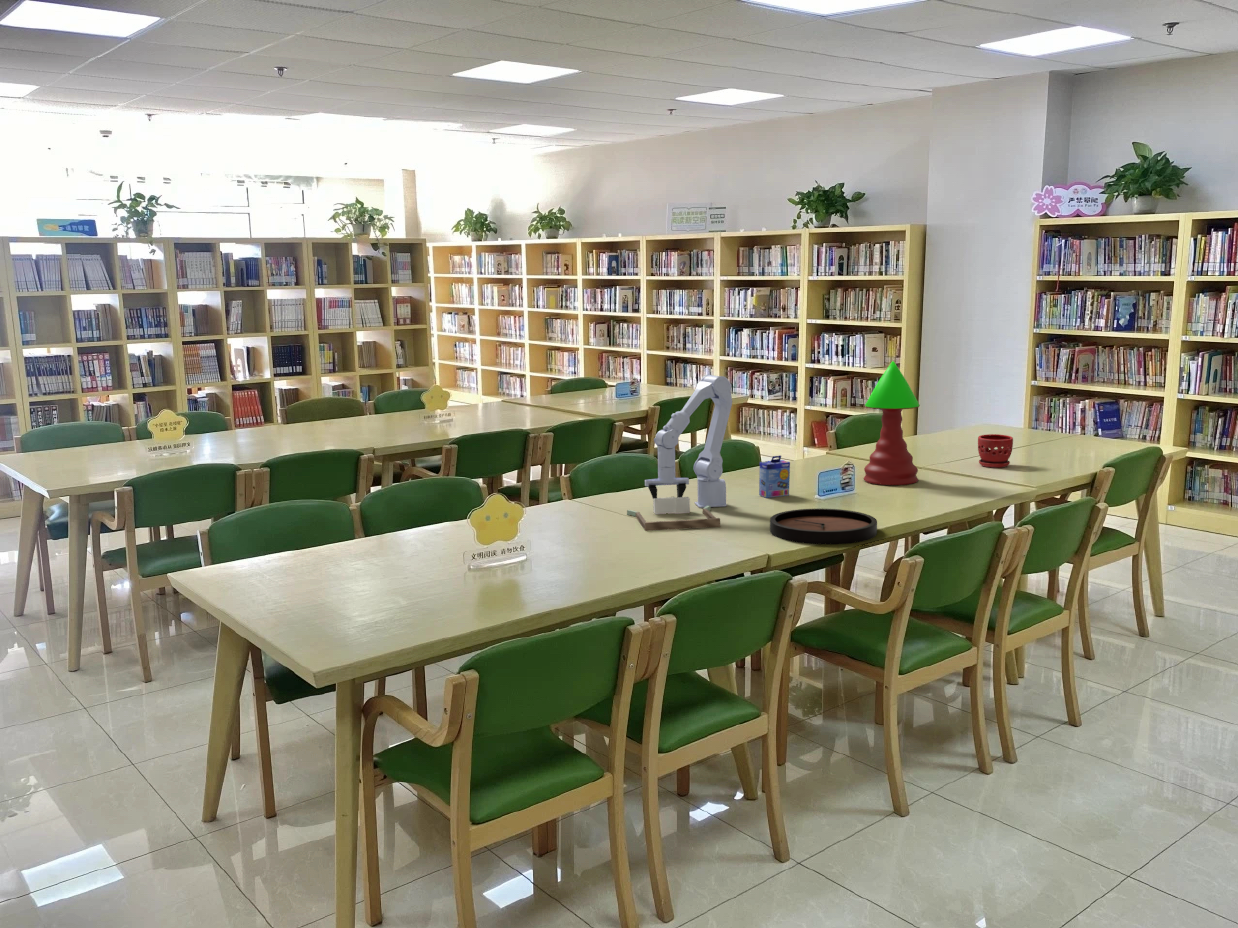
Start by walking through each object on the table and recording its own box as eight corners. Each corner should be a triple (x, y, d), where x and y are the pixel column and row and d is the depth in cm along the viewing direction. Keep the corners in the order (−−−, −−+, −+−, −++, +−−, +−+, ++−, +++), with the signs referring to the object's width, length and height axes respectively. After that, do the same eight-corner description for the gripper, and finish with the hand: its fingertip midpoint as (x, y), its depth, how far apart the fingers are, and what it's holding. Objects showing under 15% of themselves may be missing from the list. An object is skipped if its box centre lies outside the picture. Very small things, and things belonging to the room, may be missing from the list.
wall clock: (899, 524, 292) (804, 536, 281) (898, 538, 293) (804, 550, 282) (839, 504, 321) (751, 514, 310) (838, 517, 322) (751, 527, 311)
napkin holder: (645, 516, 331) (644, 499, 330) (659, 509, 341) (659, 492, 340) (687, 519, 324) (686, 502, 323) (700, 512, 334) (700, 495, 333)
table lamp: (924, 485, 366) (927, 361, 359) (869, 486, 367) (871, 362, 359) (910, 475, 386) (913, 357, 378) (858, 476, 386) (860, 359, 379)
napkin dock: (710, 509, 335) (710, 502, 335) (727, 526, 311) (727, 518, 311) (626, 514, 332) (626, 506, 331) (637, 531, 308) (637, 523, 308)
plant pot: (969, 465, 404) (970, 435, 402) (994, 462, 410) (995, 433, 408) (994, 470, 393) (995, 439, 391) (1019, 467, 398) (1020, 437, 396)
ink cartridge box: (766, 498, 351) (766, 457, 349) (758, 495, 356) (758, 455, 354) (790, 495, 355) (790, 455, 353) (781, 492, 360) (781, 452, 358)
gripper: (685, 463, 338) (686, 502, 340) (643, 465, 336) (644, 505, 339) (689, 466, 331) (690, 507, 334) (646, 468, 330) (647, 509, 332)
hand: (667, 506), depth 336 cm, fingers open, 7 cm apart
